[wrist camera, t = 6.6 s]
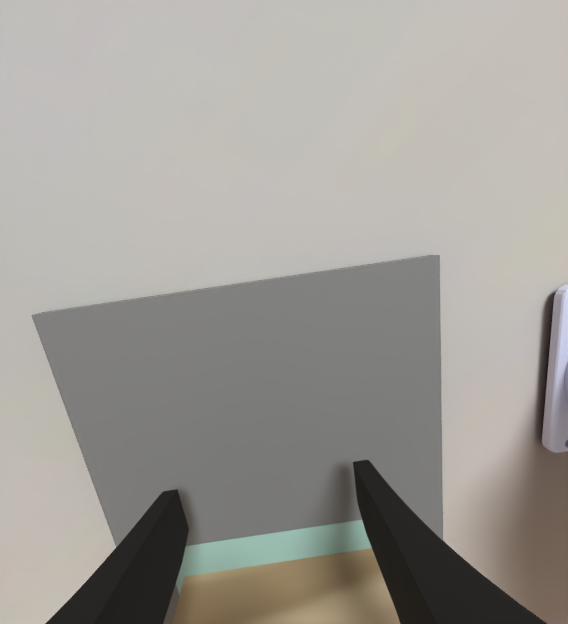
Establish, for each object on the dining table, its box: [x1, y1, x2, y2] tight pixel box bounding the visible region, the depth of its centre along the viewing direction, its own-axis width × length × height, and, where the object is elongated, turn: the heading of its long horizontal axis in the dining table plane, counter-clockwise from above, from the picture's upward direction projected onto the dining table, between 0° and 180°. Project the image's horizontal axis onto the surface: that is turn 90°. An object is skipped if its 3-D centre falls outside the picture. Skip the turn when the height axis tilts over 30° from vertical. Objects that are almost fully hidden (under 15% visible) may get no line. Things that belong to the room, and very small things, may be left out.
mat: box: [32, 255, 443, 624], centre depth 13 cm, size 16×24×1 cm, turn 8°
